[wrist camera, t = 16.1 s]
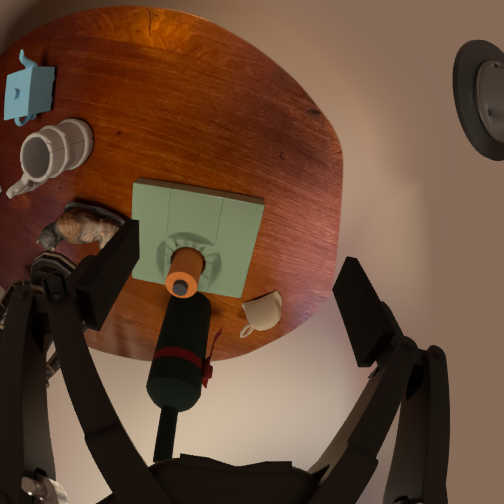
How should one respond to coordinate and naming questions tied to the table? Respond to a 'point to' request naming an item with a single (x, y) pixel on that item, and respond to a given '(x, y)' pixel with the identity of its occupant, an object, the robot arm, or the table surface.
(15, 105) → the teapot
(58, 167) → the mug
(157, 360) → the wine bottle
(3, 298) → the lantern
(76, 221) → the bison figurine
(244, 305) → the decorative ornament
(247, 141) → the table surface
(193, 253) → the orange cylinder
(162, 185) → the green peg socket base
